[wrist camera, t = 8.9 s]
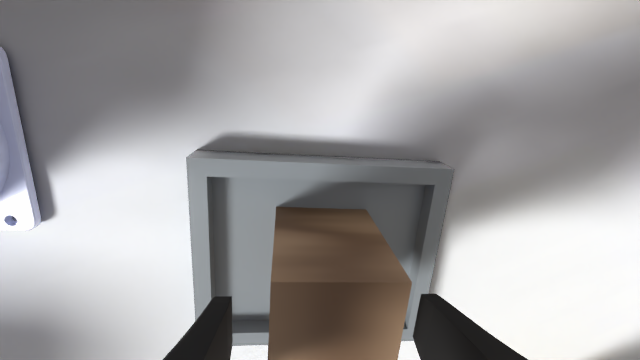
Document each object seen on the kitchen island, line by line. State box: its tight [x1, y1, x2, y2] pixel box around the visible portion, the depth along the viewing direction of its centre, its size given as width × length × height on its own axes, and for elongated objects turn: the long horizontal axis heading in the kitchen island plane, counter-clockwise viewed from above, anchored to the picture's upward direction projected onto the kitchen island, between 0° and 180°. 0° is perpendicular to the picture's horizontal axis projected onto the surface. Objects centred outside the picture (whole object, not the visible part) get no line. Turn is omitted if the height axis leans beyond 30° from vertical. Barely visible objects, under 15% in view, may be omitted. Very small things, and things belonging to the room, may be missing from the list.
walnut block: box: [268, 207, 412, 360], centre depth 13 cm, size 4×4×6 cm
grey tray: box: [186, 150, 454, 346], centre depth 16 cm, size 12×10×2 cm
